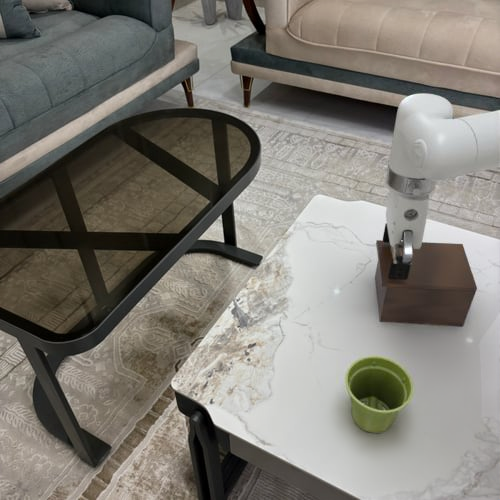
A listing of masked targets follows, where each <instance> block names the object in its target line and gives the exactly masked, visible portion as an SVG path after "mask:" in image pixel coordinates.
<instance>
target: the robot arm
mask: <svg viewBox="0 0 500 500" xmlns="http://www.w3.org/2000/svg"><path fill="white" fill-rule="evenodd" d="M453 117H454V108H453V105H452V103H451V102H450V101H449V100H448V99H447V98H445V97H443V96H440V95H438V94H434V93H425V92H424V93H414V94H410V95H408V96H406V97H405V98H403V99H402V100H401V101H400V103H399V105H398V108H397V112H396V117H395V123H394V129H393V134H392V140H391V147H390V151H389V152H390V153H389V159H388V165H387V169H386V170H387V171H386V177H385V181H384V182H385V186H386V188H387V189H388V190H389V191H388V197H387V203H386V207H385V208H386V210H385V219H386V220H385V221H386V223H385V224H384V230H383V235H382V241H383V242H385V243H390V245H391V246H392V247H393V248H394V254H393V259H391V263H390V267H389V272H388V278H389V279H399V280H406V279H408V275H409V271H410V266H411V263H412V257H413V249H412V245H413V248H414V249H420V247H421V245H422V242H423V239H424V235H425V229H426V223H427V219H428V218H427V217H428V213H429V212H428V210H429V201H430V200H429V199H430V195H431V194H432V193H434V192H435V190H436V186H437V182H438V181H444V180H449V179H453V178H458V177H463V176H466V175H471V174H474V173H479V172H484V171H489V170H493V169H494V170H495V169H498V168H500V109H497V110H494V111H489V112H483V113H477V114H476V113H475V114H472V115H467V116H461V117H457V118H453ZM401 241H403V245H400V244H398V243H399V242H401ZM398 248H403V254H402V256H398Z"/></svg>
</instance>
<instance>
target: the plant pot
mask: <svg viewBox="0 0 500 500" xmlns="http://www.w3.org/2000/svg"><path fill="white" fill-rule="evenodd" d="M344 381H345V388H346V390H347V393H348V394H349V396H350V409H351V417H352V420H353V422H354V424H356V426H357V427H358V428H360V429H361V430H363V431H364V432H368V433H369V432H370V433H373V434H381V433H384V432H386V431H387V430H388V429H389V428H390V427H391V426H392V424H393V422H394V421H395V419H396V417H397V415H398V413H400V411H401V410H403V409H405V408H406V407H407V406H408V405H409V403H410V402H411V400H412V398H413V395H414V383H413V380H412V377H411V375H410V374H409V372H408V371H407V370H406V368H404V367H403V366H402V365H400V364H399V363H398V362H396V361H395V360H393V359H391V358H389V357H385V356H380V355H369V356H368V355H367V356H364V357H361V358H358V359H357V360H355V361H354V362H353V363H351V364H350V365H349V367H348V368H347V370H346V373H345V377H344ZM363 402H364V403H363Z"/></svg>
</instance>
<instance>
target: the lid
mask: <svg viewBox="0 0 500 500" xmlns="http://www.w3.org/2000/svg"><path fill="white" fill-rule="evenodd" d="M398 244H400V245H403V240H401V242H399V243H398ZM375 246H376V254H377V263H379V271H380V279H381V286H382V287H399V288H417V289H436V290H455V291H474V292H477V290H478V287H477V284H476V280H475V278H474V275H473V271H472V269H471V268H472V267H471V266H470V262H469V259H468V256H467V252H466V250H465V246H464V244H463V243H451V242H450V243H449V242H448V243H447V242H445V243H444V242H427V241H425V242H423V241H422V245H421V247H420V249H414V248H413V245H412V249H413V257H412V263H411V266H410V271H409V275H408V279H406V280H399V279H389V278H388V272H389V267H390V263H391V259H393V254H394V248H393V247H392V246H391V245H390V243H385V242H383V239H382V240H381V239H380V240H378V239H377V240H376V241H375ZM402 254H403V248H398V256H402Z"/></svg>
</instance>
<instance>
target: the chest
mask: <svg viewBox="0 0 500 500" xmlns="http://www.w3.org/2000/svg"><path fill="white" fill-rule="evenodd" d="M374 283H375V284H374V285H375V293H376V300H377V301H376V302H377V310H378V318H379V322H380V323H381V322H383V323H397V324H398V323H399V324H413V325H430V326H431V325H432V326H444V327H460V328H461V327H462V328H463V327H464V325H465V322H466V320H467V317H468V314H469V312H470V309H471V306H472V303H473V300H474V298H475V295H476V292H477V291H476V292H474V291H455V290H436V289H417V288H399V287H382V286H381V279H380V271H379V263H378V262H377V263H376V268H375V274H374Z"/></svg>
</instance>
